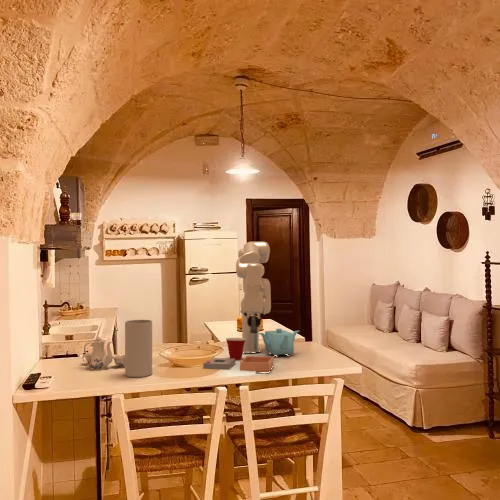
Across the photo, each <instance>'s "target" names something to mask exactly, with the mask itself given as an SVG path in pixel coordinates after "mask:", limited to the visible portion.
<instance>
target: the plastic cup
mask: <svg viewBox="0 0 500 500" xmlns="http://www.w3.org/2000/svg"><path fill="white" fill-rule="evenodd" d="M245 340H246V339H244V338H242V337H226V338H225V341H226V345H227V350H228V355H229V358H230V359H235V361H242V360H243V354H244V353H243V347H244V343H245Z"/></svg>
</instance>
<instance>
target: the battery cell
mask: <svg viewBox="0 0 500 500" xmlns="http://www.w3.org/2000/svg"><path fill="white" fill-rule="evenodd" d="M257 317H258V315H257V314H254V315H252V316H250V333H258V327H257Z"/></svg>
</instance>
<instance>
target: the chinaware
mask: <svg viewBox="0 0 500 500" xmlns="http://www.w3.org/2000/svg"><path fill="white" fill-rule="evenodd" d="M105 343H106V340H103V339H102V338H101V336H100V335H97V337H96V338H95V339H94V340H92V341H91V342H87V343H85V344H84V346H83V351H84V355H83V356H82V358H85V359H82V362H84V363H85V362H86V363H87V367H88V368H89V370H91V371H102V370H107V369H108V366H109V365H110V364H111V363H112V362H114V364H115V365H116V366H117V367H118V366H119V367H118V368H125V354H121V355H120V354H116V355H114V356H113V352H112V350H111V349H112V348H111V343H112V341H109V342H107V344H106V350H105ZM87 345H90V347H92V352H89V353H88V352H87V350H86V347H87ZM106 353H107V354H106Z"/></svg>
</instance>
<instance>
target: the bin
mask: <svg viewBox="0 0 500 500" xmlns="http://www.w3.org/2000/svg"><path fill="white" fill-rule="evenodd" d="M274 358H275V357H273V356H256V355H246V356H245V357H243V358H242V359H241V360H240V362H239V371H240V372H241V371H242V372H244V371H247V372H269V371H270V370H271V368H272V366H273V365H274V363H275V359H274ZM271 371H272V370H271Z"/></svg>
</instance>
